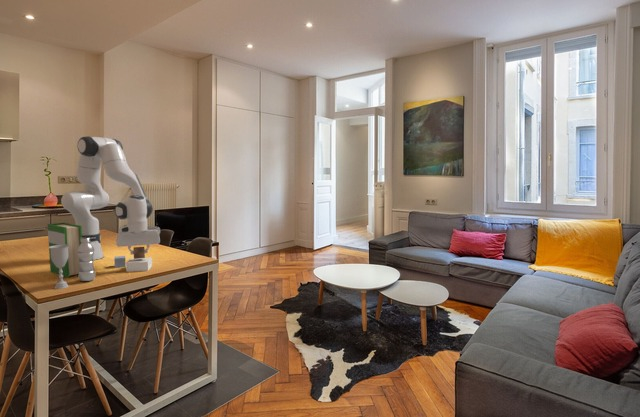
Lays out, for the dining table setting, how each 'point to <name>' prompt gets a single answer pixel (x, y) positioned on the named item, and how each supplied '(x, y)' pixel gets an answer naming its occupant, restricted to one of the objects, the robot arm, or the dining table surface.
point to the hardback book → (65, 236)
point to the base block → (139, 264)
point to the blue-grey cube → (119, 261)
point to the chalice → (60, 262)
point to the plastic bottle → (86, 260)
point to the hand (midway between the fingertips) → (139, 253)
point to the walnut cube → (139, 252)
